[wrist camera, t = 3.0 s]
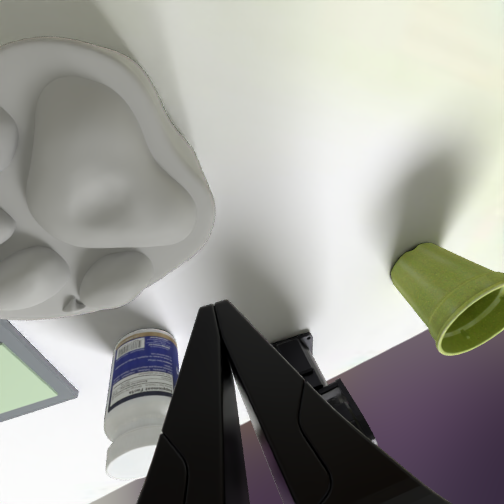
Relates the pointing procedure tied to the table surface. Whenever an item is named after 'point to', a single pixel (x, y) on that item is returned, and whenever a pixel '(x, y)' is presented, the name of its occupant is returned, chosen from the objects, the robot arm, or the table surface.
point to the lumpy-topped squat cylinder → (89, 182)
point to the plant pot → (451, 297)
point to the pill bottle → (138, 400)
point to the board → (27, 377)
